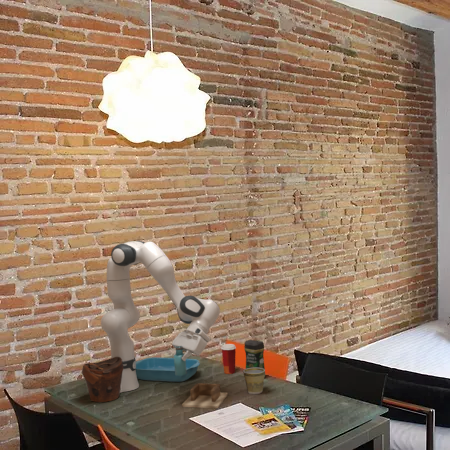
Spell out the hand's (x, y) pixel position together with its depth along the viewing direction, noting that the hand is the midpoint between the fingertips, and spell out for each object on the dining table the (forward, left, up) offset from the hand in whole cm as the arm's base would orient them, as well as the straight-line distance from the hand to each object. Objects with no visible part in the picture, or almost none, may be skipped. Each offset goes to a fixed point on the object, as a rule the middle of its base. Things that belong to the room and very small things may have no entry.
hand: (178, 358), depth 269 cm
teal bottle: (+1, 0, -7) cm, 7 cm away
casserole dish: (-21, +39, -21) cm, 49 cm away
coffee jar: (+25, +42, -20) cm, 53 cm away
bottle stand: (+10, +5, -20) cm, 23 cm away
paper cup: (+10, +49, -20) cm, 54 cm away
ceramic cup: (+30, +21, -20) cm, 42 cm away
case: (-38, +3, -20) cm, 43 cm away
